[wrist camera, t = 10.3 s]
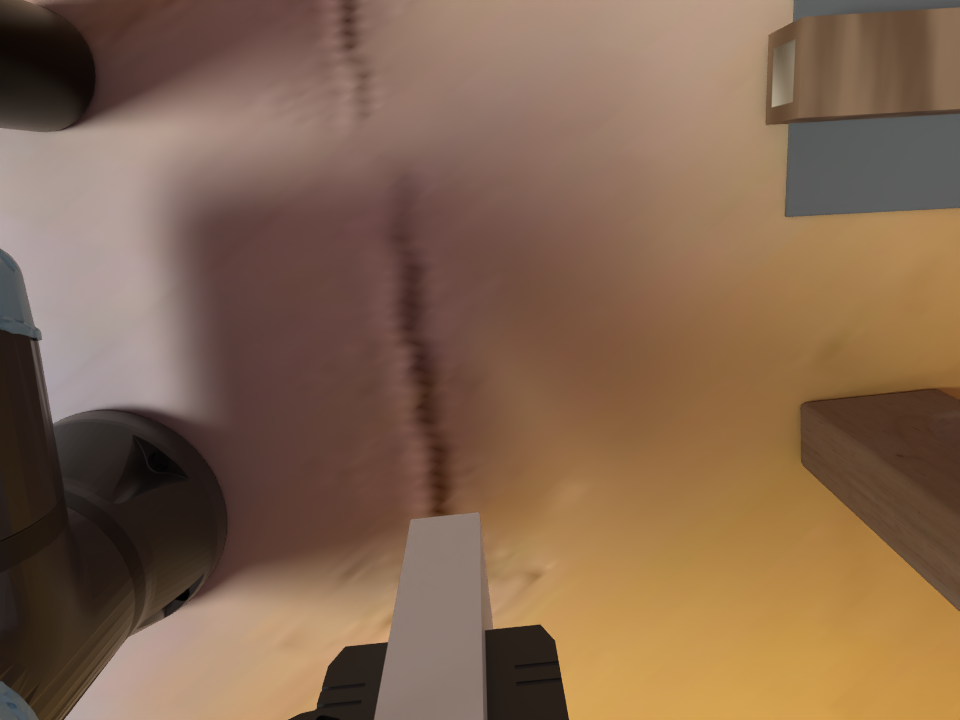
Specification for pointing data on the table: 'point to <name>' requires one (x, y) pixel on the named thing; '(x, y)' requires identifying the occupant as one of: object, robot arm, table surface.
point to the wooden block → (895, 473)
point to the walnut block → (864, 66)
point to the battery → (41, 69)
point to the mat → (872, 147)
